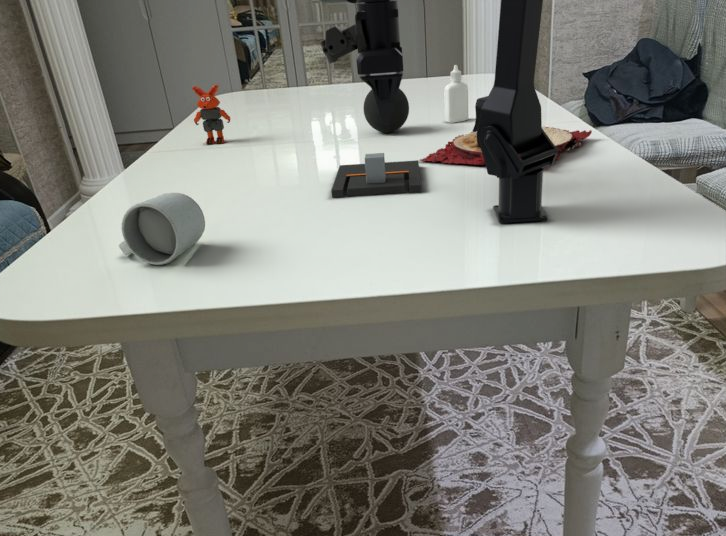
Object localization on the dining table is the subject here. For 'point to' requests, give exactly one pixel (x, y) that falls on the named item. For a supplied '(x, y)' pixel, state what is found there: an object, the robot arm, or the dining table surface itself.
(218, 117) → the toy animal
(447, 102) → the eye dropper bottle
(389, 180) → the loose pad
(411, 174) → the dock pad
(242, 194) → the dining table surface
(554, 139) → the plate with food
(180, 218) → the ceramic mug
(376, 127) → the dark grey ball
